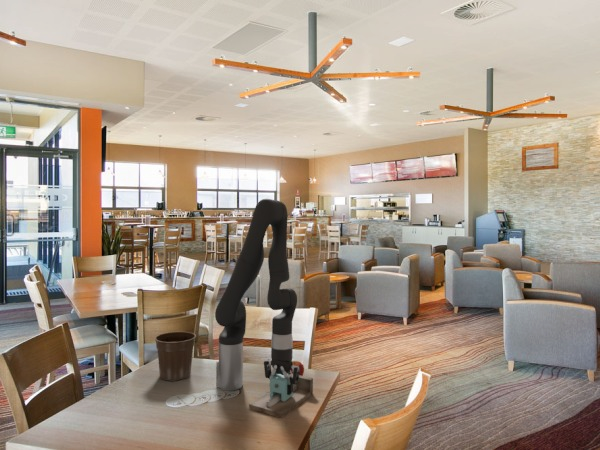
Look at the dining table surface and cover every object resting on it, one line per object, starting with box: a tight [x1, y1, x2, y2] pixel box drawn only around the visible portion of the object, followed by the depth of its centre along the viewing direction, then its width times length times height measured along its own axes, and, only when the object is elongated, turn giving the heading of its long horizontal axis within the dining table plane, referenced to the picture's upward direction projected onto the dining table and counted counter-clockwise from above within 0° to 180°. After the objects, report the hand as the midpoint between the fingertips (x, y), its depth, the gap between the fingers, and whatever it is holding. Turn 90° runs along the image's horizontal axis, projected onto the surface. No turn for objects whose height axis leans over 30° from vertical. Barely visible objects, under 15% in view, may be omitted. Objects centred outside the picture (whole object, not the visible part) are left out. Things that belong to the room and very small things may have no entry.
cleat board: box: [248, 374, 314, 419], centre depth 157 cm, size 13×22×6 cm, turn 151°
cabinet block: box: [269, 374, 293, 402], centre depth 156 cm, size 6×7×7 cm
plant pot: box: [154, 331, 197, 382], centre depth 180 cm, size 16×16×16 cm
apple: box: [291, 360, 305, 376], centre depth 177 cm, size 8×8×8 cm
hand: (281, 392), depth 156 cm, fingers closed on cabinet block, 6 cm apart
